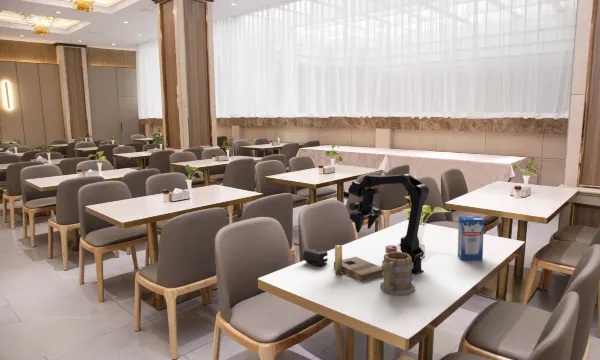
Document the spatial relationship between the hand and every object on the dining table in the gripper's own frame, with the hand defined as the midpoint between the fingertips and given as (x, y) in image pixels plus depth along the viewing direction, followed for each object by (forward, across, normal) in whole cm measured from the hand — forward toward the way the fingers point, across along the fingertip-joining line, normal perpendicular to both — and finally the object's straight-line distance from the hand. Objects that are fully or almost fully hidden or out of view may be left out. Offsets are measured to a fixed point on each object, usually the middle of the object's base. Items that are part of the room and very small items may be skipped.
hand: (363, 230), depth 209 cm
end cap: (+17, +21, -10) cm, 28 cm away
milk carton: (+7, -32, +42) cm, 53 cm away
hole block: (+12, +16, +11) cm, 23 cm away
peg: (+13, +24, +6) cm, 28 cm away
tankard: (+8, +25, +34) cm, 43 cm away
